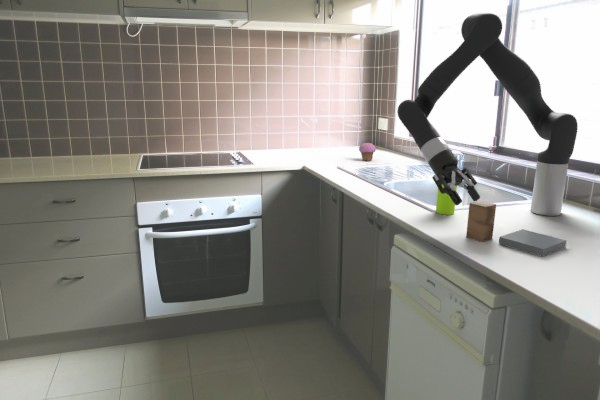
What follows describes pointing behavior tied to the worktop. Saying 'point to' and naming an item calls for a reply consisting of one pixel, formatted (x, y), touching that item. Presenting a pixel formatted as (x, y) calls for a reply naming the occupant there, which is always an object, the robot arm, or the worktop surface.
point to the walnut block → (481, 221)
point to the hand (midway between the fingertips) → (468, 201)
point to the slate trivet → (532, 242)
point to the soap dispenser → (445, 203)
